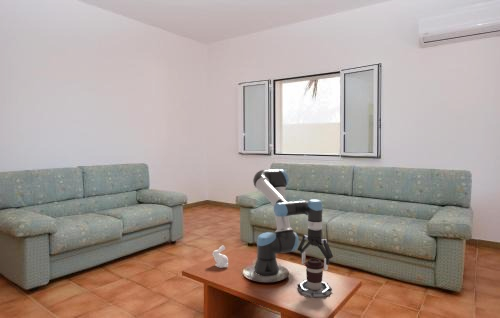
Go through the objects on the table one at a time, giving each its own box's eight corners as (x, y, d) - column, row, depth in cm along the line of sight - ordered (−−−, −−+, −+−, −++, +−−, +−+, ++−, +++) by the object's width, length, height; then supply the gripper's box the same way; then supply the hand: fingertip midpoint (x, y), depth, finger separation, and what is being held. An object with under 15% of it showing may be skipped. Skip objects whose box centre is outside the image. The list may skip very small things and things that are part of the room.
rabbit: (210, 265, 210) (210, 247, 209) (221, 261, 217) (221, 243, 216) (223, 270, 202) (223, 251, 201) (234, 265, 209) (234, 247, 208)
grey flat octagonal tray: (291, 290, 174) (291, 286, 174) (308, 279, 188) (308, 276, 187) (321, 301, 162) (321, 297, 162) (336, 288, 176) (337, 284, 176)
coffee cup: (323, 292, 169) (324, 264, 168) (304, 290, 171) (305, 263, 170) (323, 284, 179) (323, 257, 178) (305, 282, 181) (305, 256, 180)
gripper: (291, 225, 178) (291, 263, 179) (333, 234, 162) (332, 275, 163) (298, 223, 184) (298, 259, 185) (339, 231, 168) (339, 270, 169)
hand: (314, 267), depth 174 cm, fingers open, 13 cm apart
